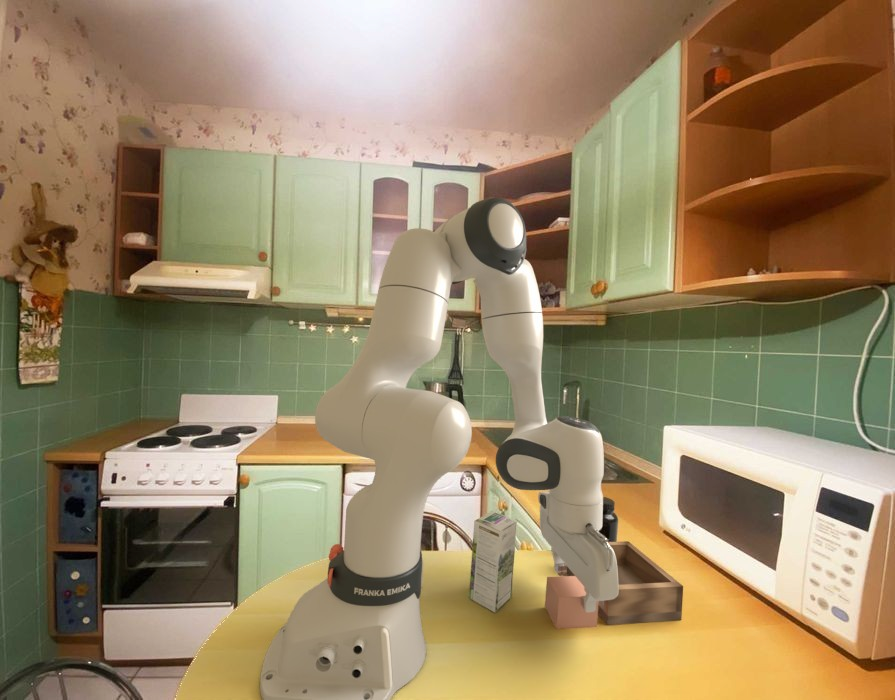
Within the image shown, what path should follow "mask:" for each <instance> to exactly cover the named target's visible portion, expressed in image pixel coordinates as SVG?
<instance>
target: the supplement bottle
mask: <svg viewBox="0 0 895 700" xmlns="http://www.w3.org/2000/svg"><path fill="white" fill-rule="evenodd" d="M618 528H619V517H618V515H617V514H616V512H615V501H614V499H611V498H610V497H606V496H603V520H602V528H601V529H600V530H599V532H600V533H601V534H602V535H604V536H605V537H606V538H607V540H608V542H618V533H619V532H618V531H619V529H618Z"/></svg>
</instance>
